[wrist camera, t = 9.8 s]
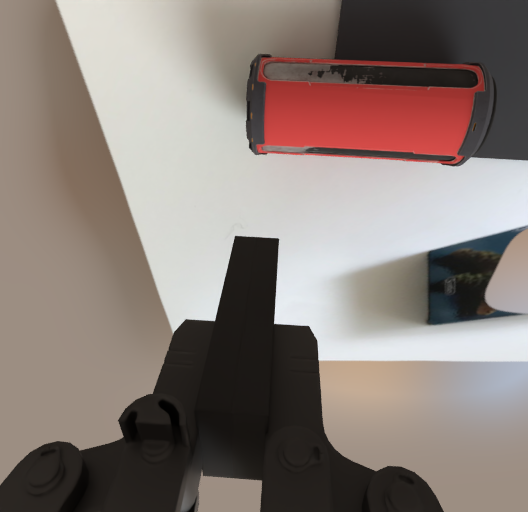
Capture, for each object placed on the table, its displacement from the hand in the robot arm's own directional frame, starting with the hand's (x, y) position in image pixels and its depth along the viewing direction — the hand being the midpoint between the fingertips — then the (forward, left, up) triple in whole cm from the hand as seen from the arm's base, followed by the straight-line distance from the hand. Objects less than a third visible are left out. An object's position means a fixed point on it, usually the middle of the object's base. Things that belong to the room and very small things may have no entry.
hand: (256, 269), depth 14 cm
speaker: (-2, -2, -22) cm, 22 cm away
